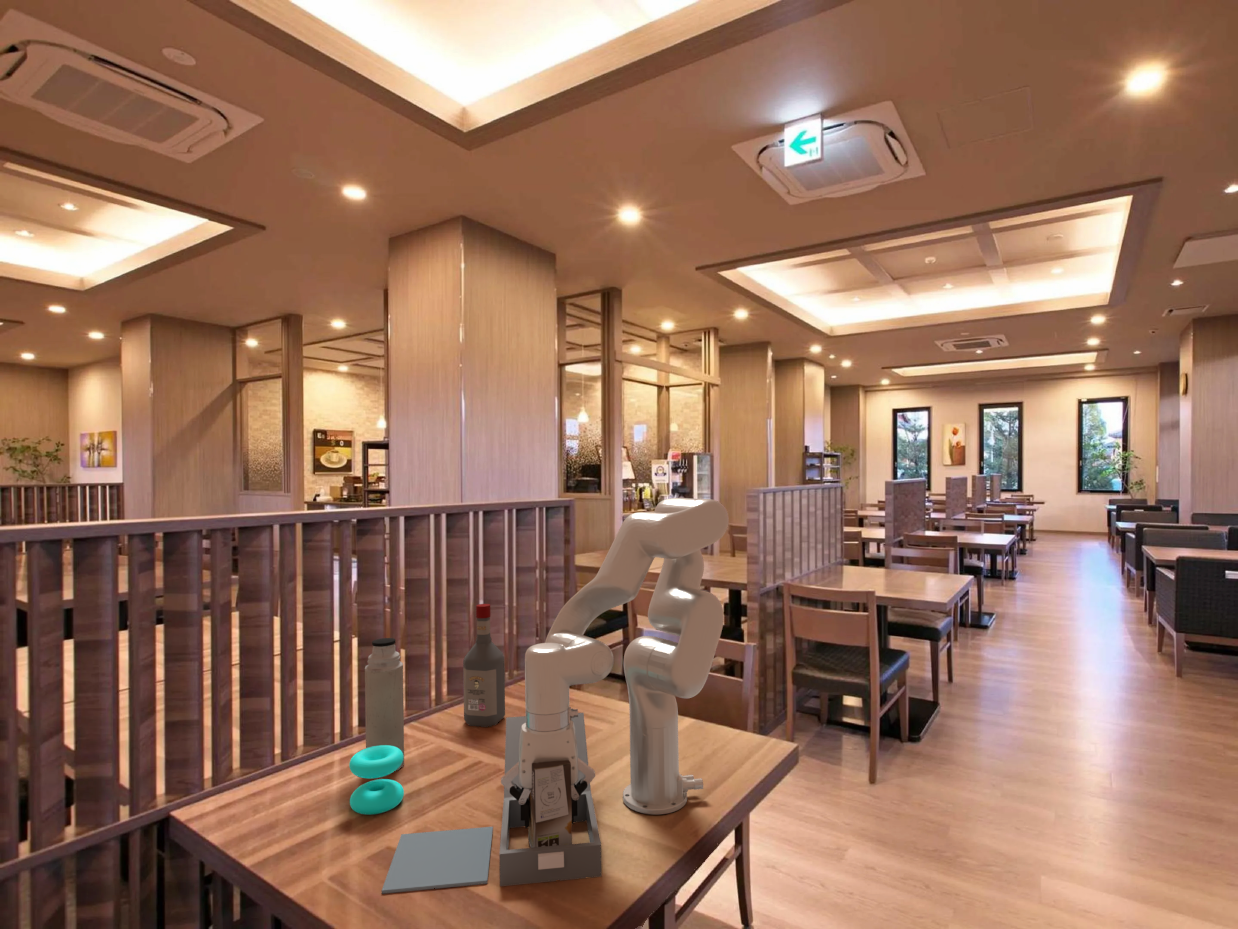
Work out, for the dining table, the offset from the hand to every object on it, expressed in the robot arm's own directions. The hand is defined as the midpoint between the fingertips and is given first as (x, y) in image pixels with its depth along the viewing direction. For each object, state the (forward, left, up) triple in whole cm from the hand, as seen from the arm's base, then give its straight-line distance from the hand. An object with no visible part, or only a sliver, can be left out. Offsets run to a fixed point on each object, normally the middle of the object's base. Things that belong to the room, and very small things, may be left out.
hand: (549, 821), depth 114 cm
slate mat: (+18, 0, -5) cm, 19 cm away
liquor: (+15, -62, -5) cm, 64 cm away
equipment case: (0, 0, -5) cm, 5 cm away
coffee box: (0, 0, -5) cm, 5 cm away
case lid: (0, -17, +5) cm, 17 cm away
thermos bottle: (+35, -38, -5) cm, 52 cm away
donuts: (+33, -21, -5) cm, 39 cm away
